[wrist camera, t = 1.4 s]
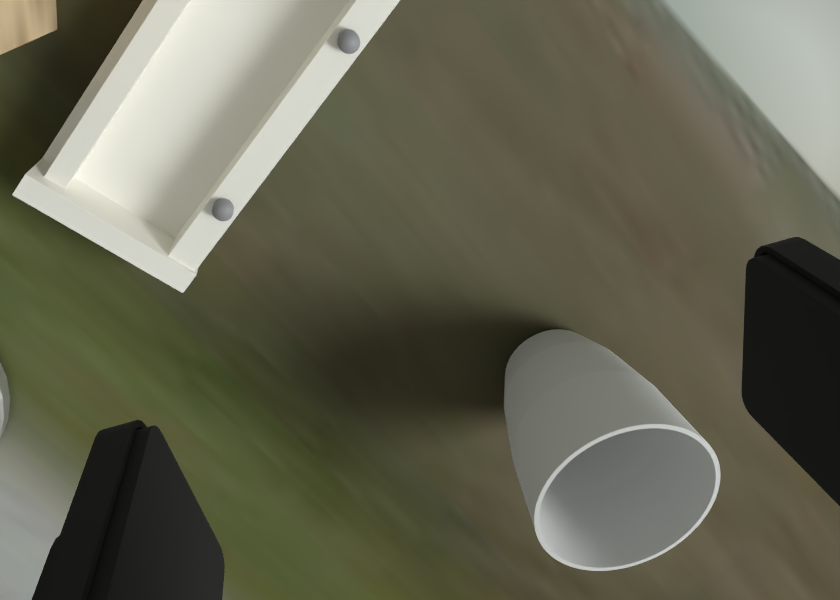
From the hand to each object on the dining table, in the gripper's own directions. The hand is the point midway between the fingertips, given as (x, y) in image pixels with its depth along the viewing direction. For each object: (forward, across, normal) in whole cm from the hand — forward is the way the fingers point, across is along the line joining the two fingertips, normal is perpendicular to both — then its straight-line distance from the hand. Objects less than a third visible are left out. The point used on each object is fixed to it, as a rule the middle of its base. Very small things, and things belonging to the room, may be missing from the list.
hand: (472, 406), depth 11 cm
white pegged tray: (+21, +4, -3) cm, 22 cm away
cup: (+21, -7, +16) cm, 28 cm away
